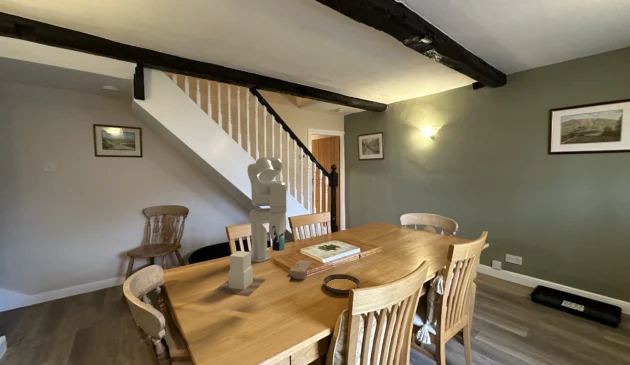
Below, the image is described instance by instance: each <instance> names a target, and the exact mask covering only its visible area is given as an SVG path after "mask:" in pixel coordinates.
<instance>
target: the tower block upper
mask: <svg viewBox="0 0 630 365" xmlns="http://www.w3.org/2000/svg"><path fill="white" fill-rule="evenodd" d="M251 255H252V251H243V250H241V251H240V250H237V251H235V252H234V253H232V254H230V255H229V270H230V271H238V272H244V271H246V270H247V269H248V268H250V267H251V266H252V261H251Z"/></svg>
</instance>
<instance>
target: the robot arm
mask: <svg viewBox="0 0 630 365" xmlns="http://www.w3.org/2000/svg"><path fill="white" fill-rule="evenodd" d="M282 169H283V162H282V160H281V159H280V158H279V157H266V156H265V157H260V158H258V159H257V160H256V161H255V163H250V164H248V166H247V171H246V172H247V176H248V179H249V182H250V186H251V187H250V188H251V189H250V190H251V205H252V206H254V207H261V208H254V209H252V210H250V212H249V220H250V231H251V232H250V233H251V234H250V235H251V239H250V240H251V262H254V263H259V262H260V263H262V262H266V261H268V260H269V259H270V257H271V256H270V254H268V252H269V250H270V248H268V235H269V236H270V237H269V238H270V239H271V244H272V245H271V246H272V247H271V248H272V251H274V252H280V251H279V235H283V236H284V238H285V233H286V230H287V216H286V213H287V185H286V183H285V182H283V181H281V180H275V178H276V177H277V176H278V175H279V174H280V173H281V172H282ZM262 207H263V208H262ZM264 207H265V208H264ZM265 224H268V230H267V228H266V227H265V226H264V225H265ZM267 231H268V232H267ZM275 236H277V238H276V237H275Z"/></svg>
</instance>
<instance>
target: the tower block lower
mask: <svg viewBox="0 0 630 365" xmlns="http://www.w3.org/2000/svg"><path fill="white" fill-rule="evenodd" d="M253 268H254V266H253V265H251V267H250V268H248V269H247V270H246V271H244V272H238V271H230V269H229V270H228V280H229V288H235V289H242V290H245V289H246V288H247V287H248V286H249V285H250V284H251V283H253V277H254V274H253V273H254V272H253V271H254V270H253Z"/></svg>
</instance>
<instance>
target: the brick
mask: <svg viewBox="0 0 630 365" xmlns="http://www.w3.org/2000/svg"><path fill="white" fill-rule="evenodd" d="M311 265H312V266H313V262H312V261H311V260H298V261H297V262H296V263H295V265H294V266H293V267H291V268H290V269H289V271H288V272H289V276H290V278H291V279H295V280H305V279H306V278H307V277H306V276H308V275H307V270H308V269H309V268H310V266H311Z"/></svg>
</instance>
